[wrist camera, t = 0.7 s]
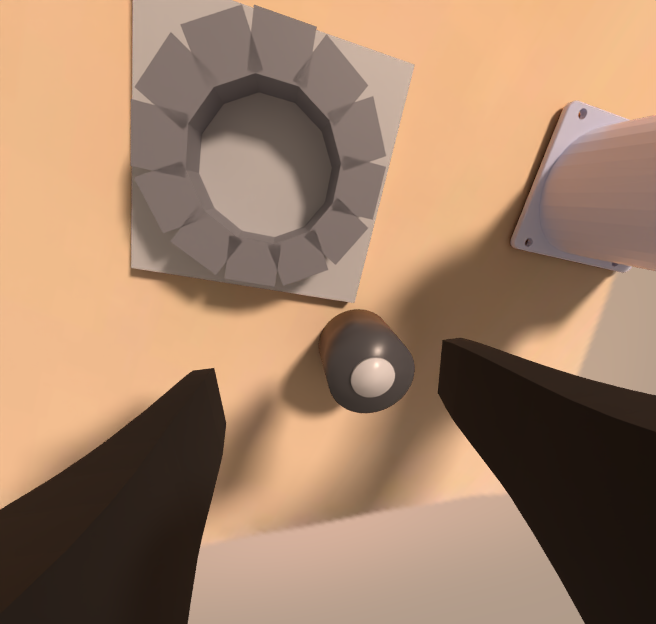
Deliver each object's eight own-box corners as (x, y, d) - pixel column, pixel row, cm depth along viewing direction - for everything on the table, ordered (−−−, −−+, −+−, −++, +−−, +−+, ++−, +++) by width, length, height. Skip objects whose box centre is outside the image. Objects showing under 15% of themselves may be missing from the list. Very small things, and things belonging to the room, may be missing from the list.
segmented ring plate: (407, 70, 15) (439, 41, 12) (351, 298, 19) (365, 317, 16) (141, -22, 13) (99, -88, 10) (137, 264, 16) (107, 280, 13)
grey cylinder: (398, 314, 20) (427, 343, 16) (379, 378, 22) (401, 418, 18) (327, 303, 19) (340, 332, 15) (312, 371, 21) (320, 412, 17)
